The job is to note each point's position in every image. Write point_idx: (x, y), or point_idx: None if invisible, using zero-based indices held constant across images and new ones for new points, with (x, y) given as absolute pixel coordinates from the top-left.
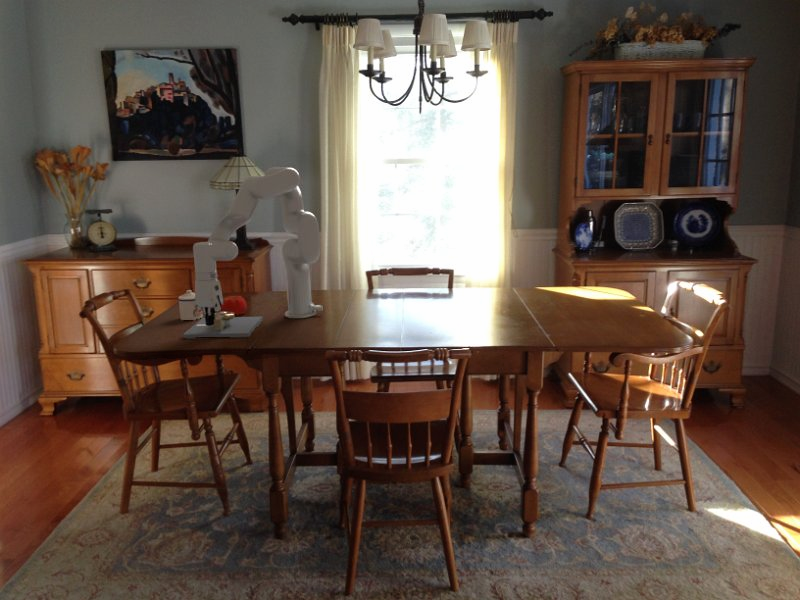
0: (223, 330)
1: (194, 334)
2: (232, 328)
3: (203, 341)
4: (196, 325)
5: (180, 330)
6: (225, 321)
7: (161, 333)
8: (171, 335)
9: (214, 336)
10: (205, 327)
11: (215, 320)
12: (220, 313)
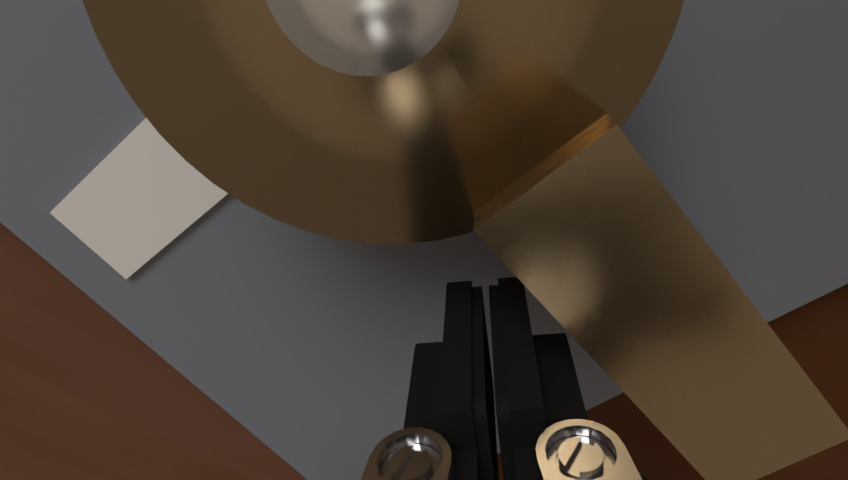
0: (678, 201)
1: None
2: (744, 32)
3: (645, 456)
4: (71, 237)
5: (24, 336)
6: None
7: (21, 473)
8: (163, 471)
9: None
10: (281, 237)
11: (746, 470)
12: (362, 71)
